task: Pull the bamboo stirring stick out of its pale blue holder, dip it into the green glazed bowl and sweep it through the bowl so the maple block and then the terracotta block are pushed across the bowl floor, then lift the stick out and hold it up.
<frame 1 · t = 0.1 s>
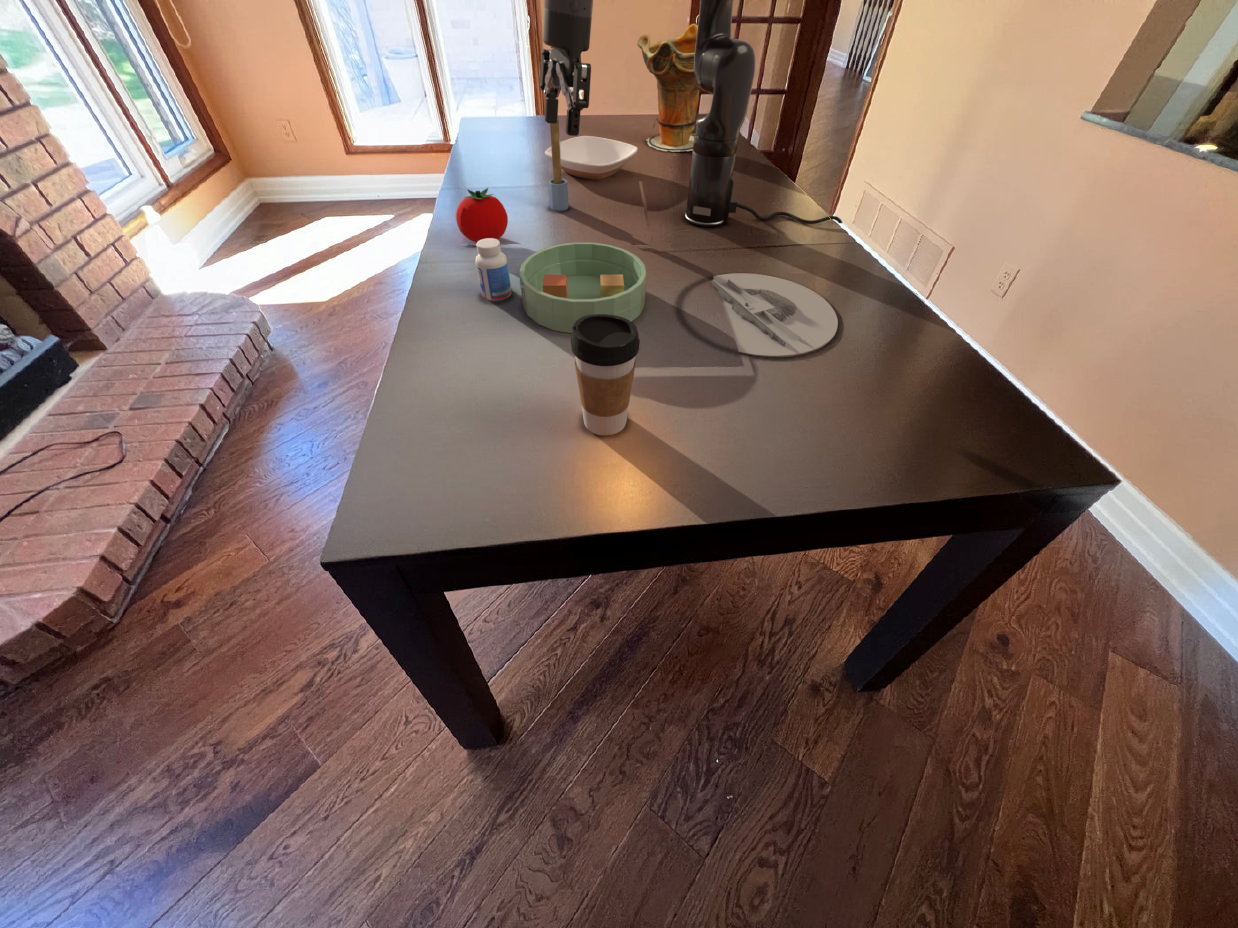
hand: (561, 129, 95), 22 cm above the table, tool pointing down, fingers open, 8 cm apart
stick holder: (559, 208, 127), on the table
pill bottle: (497, 296, 98), on the table
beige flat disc: (756, 312, 96), on the table
stir bowl: (584, 303, 97), on the table
stick: (559, 206, 126), resting on stick holder
block a: (611, 300, 96), point 1 cm above the table, touching stir bowl
bowl: (592, 172, 145), on the table
coffee cup: (605, 422, 75), on the table
block b: (556, 300, 96), point 1 cm above the table, touching stir bowl
decorative vase: (673, 144, 164), on the table
tomato: (485, 242, 114), on the table
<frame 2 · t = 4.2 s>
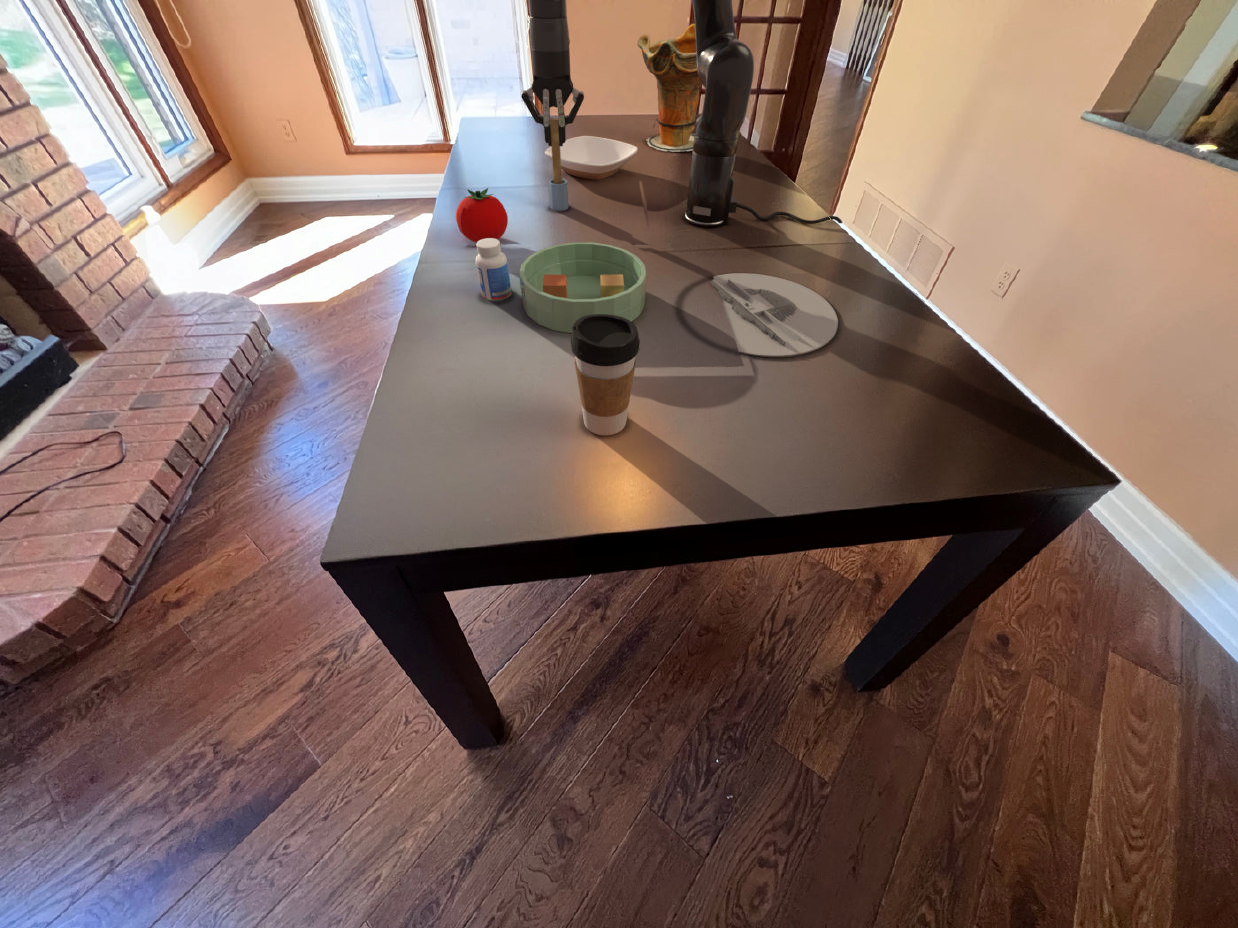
hand: (555, 145, 117), 13 cm above the table, tool pointing down, fingers closed on stick, 2 cm apart
stick: (559, 206, 126), resting on stick holder, touching gripper
everything else where it was.
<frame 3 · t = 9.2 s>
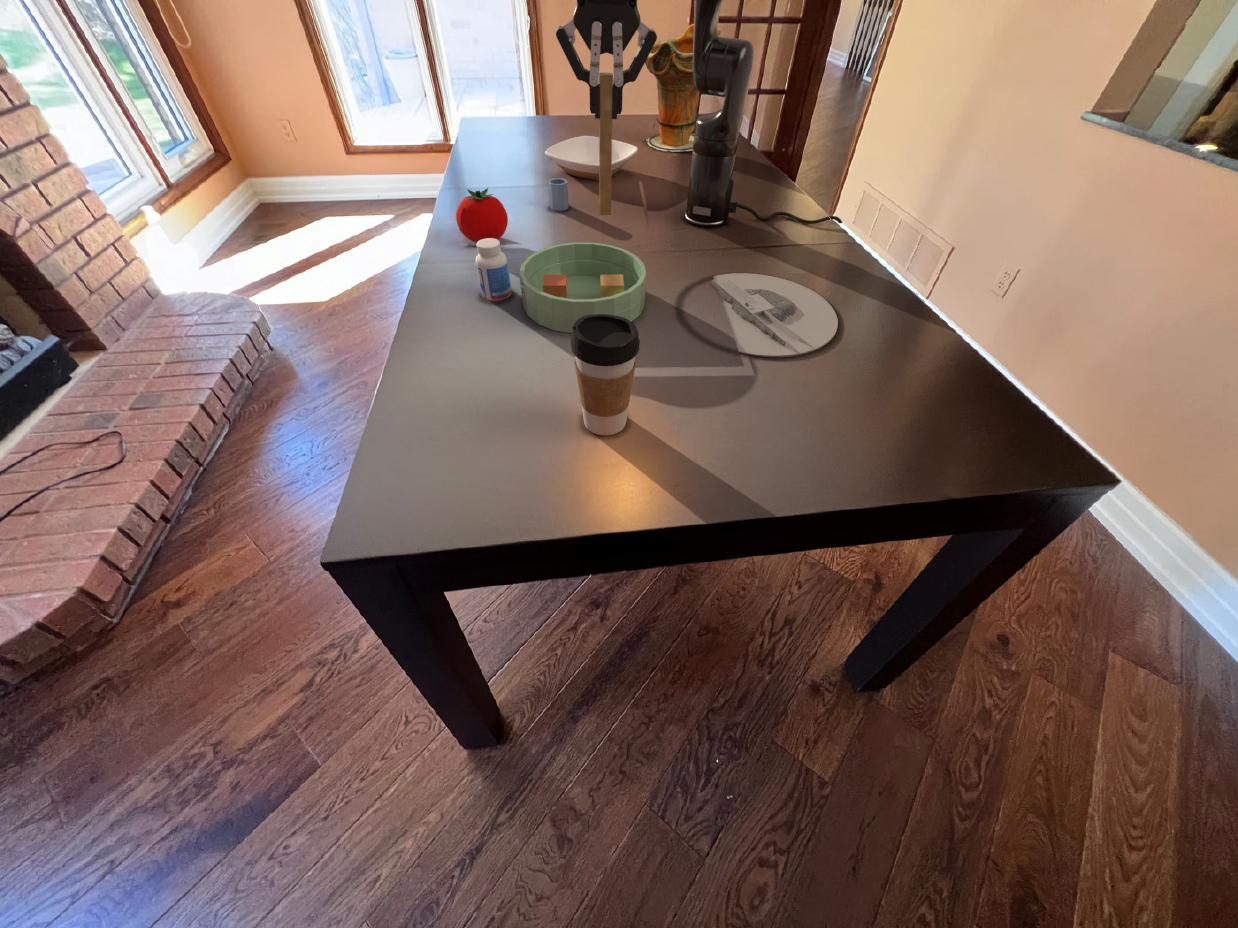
hand: (606, 117, 75), 29 cm above the table, tool pointing down, fingers closed on stick
stick: (605, 213, 84), point 16 cm above the table, touching gripper
everything else where it was.
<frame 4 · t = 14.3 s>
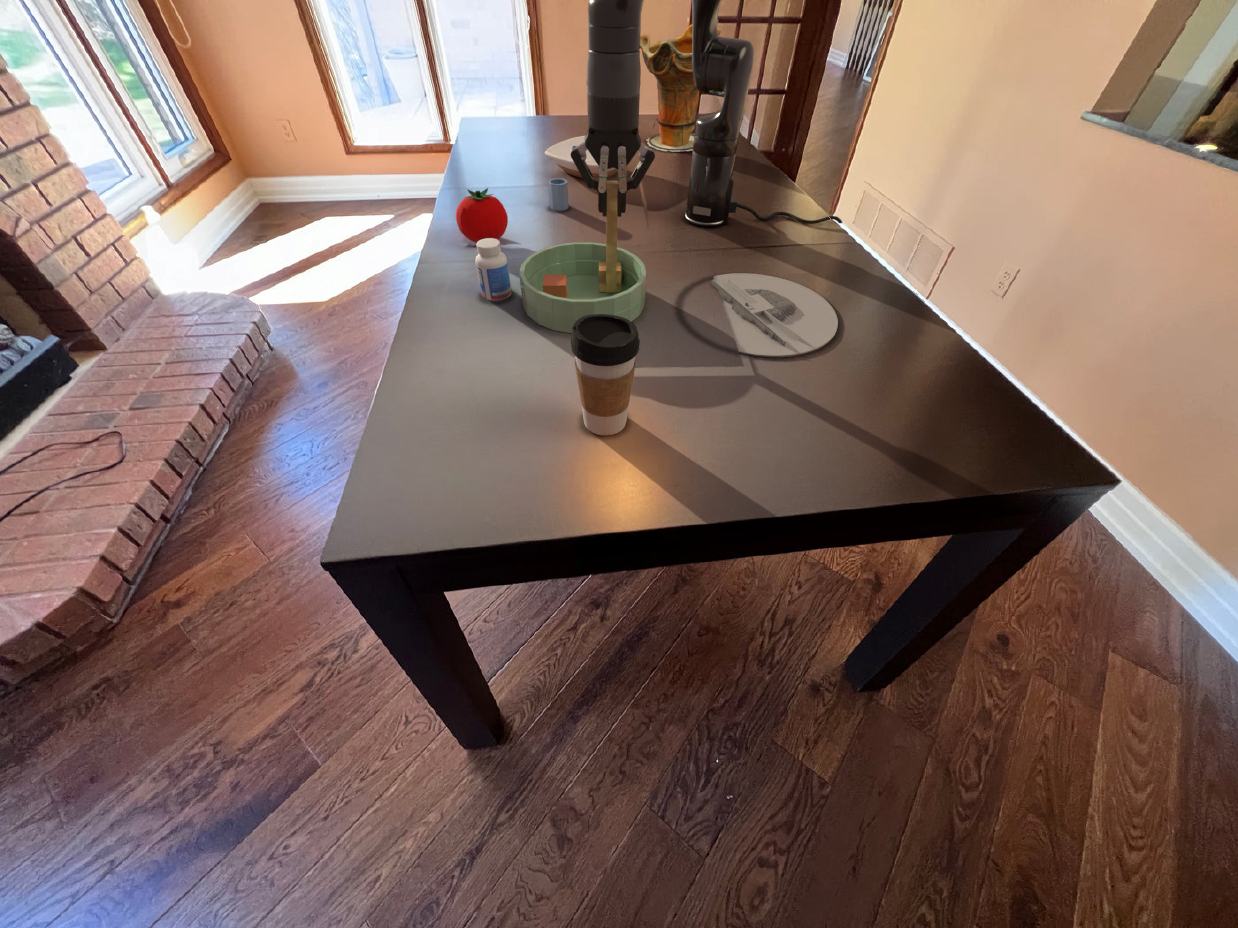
hand: (611, 214, 88), 15 cm above the table, tool pointing down, fingers closed on stick, 2 cm apart
stick: (610, 290, 97), point 2 cm above the table, touching block a, gripper
block a: (609, 287, 100), point 1 cm above the table, touching stick, stir bowl
everything else where it was.
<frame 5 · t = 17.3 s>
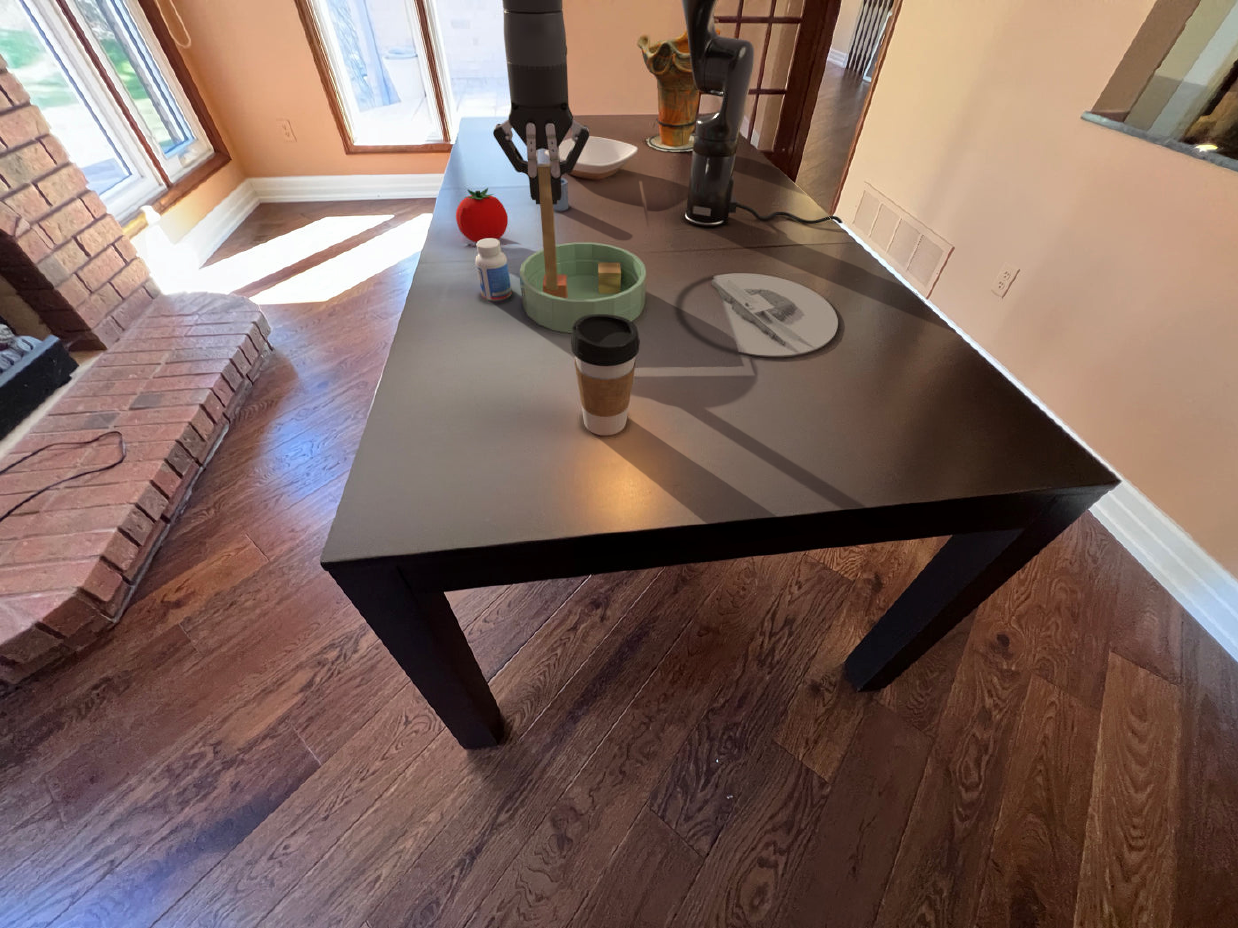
hand: (546, 202, 79), 19 cm above the table, tool pointing down, fingers closed on stick
stick: (552, 287, 88), point 6 cm above the table, touching gripper
block a: (609, 288, 100), point 1 cm above the table, touching stir bowl
everything else where it was.
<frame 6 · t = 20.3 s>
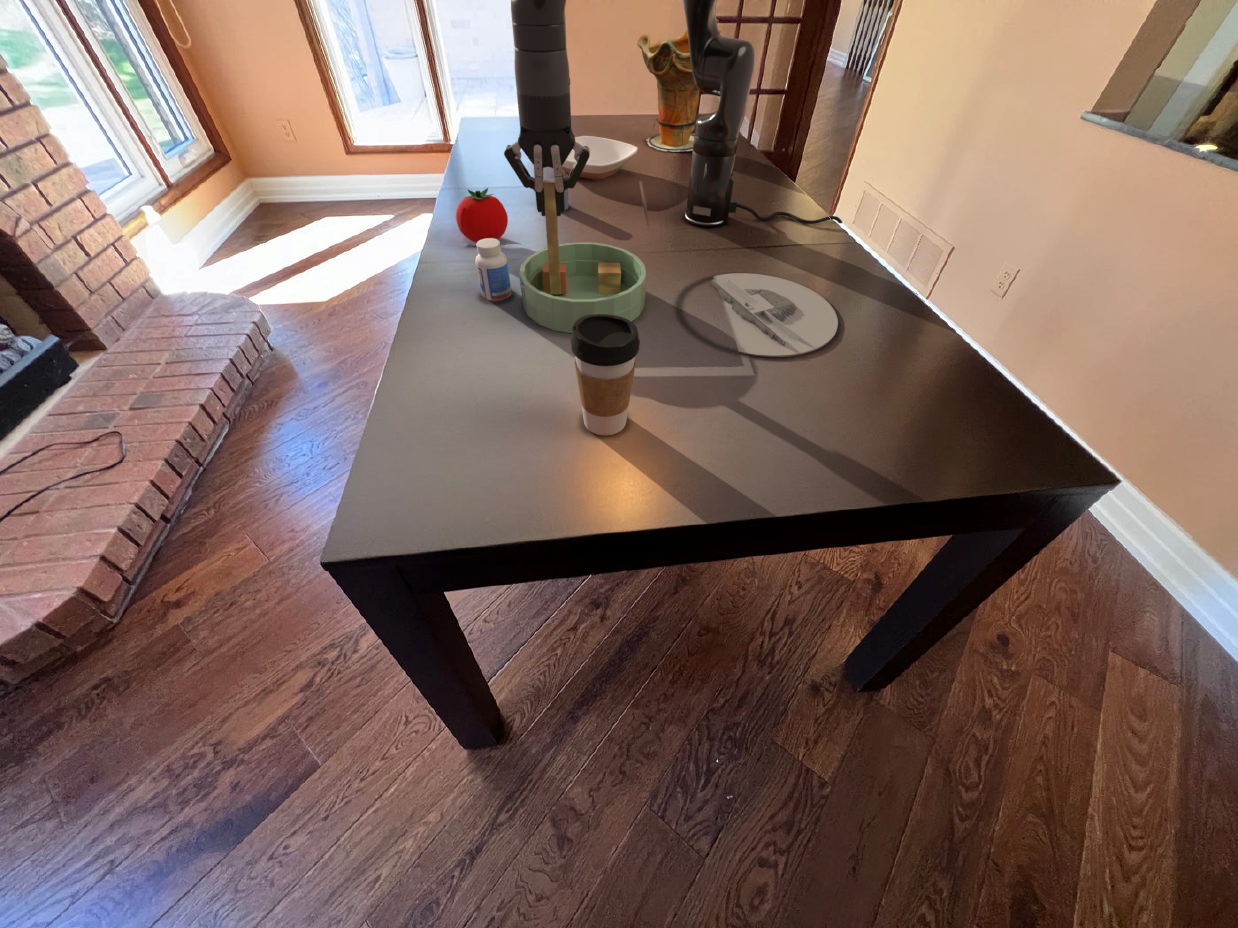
hand: (551, 214, 88), 15 cm above the table, tool pointing down, fingers closed on stick, 2 cm apart
stick: (555, 292, 96), point 2 cm above the table, tilted 7°, touching block b, gripper
block b: (555, 289, 98), point 1 cm above the table, tilted 7°, touching stick, stir bowl
everything else where it was.
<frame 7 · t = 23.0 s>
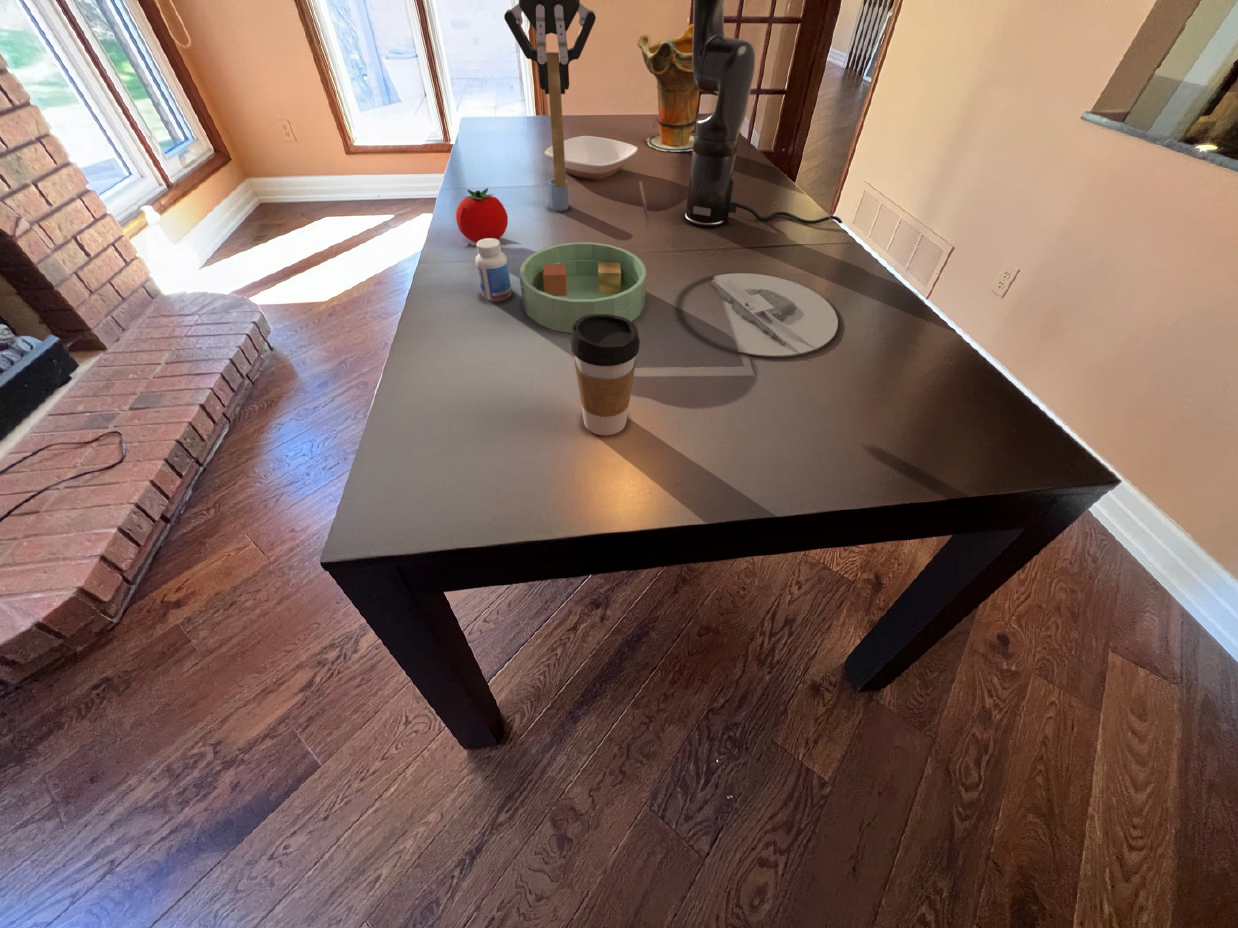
hand: (555, 92, 83), 30 cm above the table, tool pointing down, fingers closed on stick
stick: (560, 186, 91), point 17 cm above the table, tilted 6°, touching gripper
block b: (556, 290, 99), point 1 cm above the table, touching stir bowl
everything else where it was.
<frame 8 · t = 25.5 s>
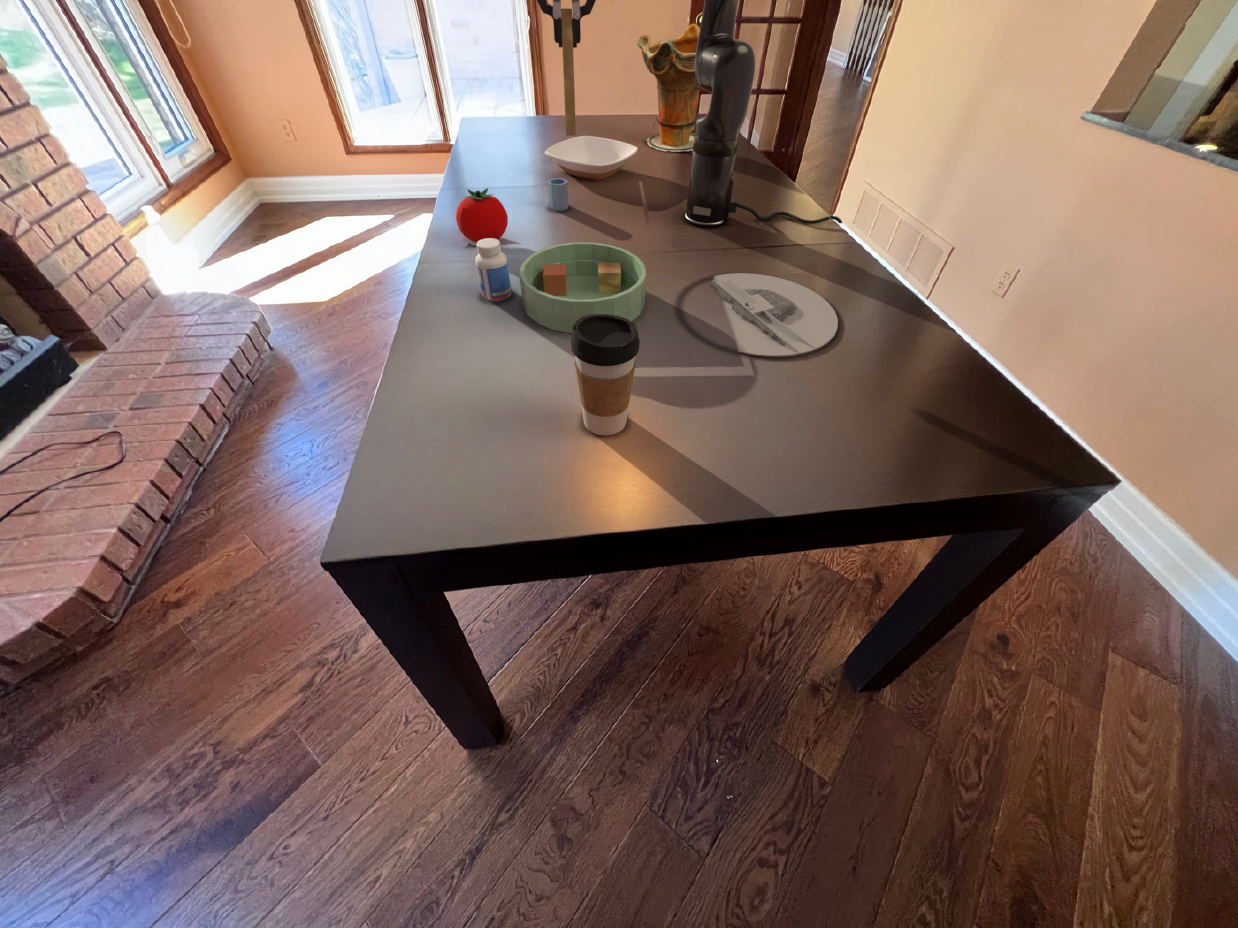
hand: (568, 46, 92), 33 cm above the table, tool pointing down, fingers closed on stick
stick: (571, 134, 100), point 20 cm above the table, tilted 6°, touching gripper
everything else where it was.
at the end: block a moved 4.6 cm from its start; block a inside the target area in the stir bowl (6.6 cm from its centre), point 0.6 cm above the stir bowl's base; stick point 20.1 cm above the table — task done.
